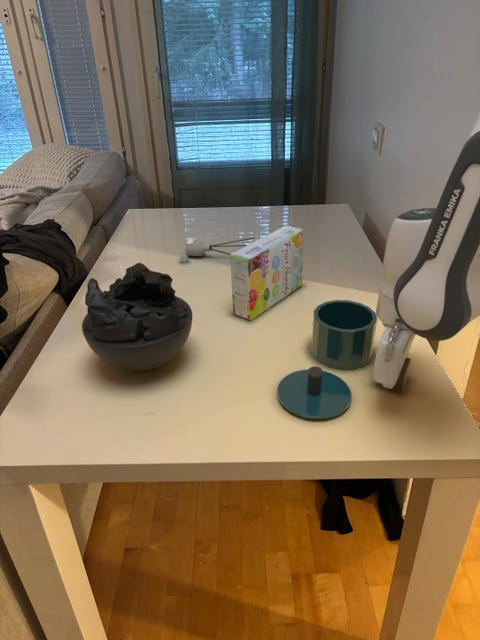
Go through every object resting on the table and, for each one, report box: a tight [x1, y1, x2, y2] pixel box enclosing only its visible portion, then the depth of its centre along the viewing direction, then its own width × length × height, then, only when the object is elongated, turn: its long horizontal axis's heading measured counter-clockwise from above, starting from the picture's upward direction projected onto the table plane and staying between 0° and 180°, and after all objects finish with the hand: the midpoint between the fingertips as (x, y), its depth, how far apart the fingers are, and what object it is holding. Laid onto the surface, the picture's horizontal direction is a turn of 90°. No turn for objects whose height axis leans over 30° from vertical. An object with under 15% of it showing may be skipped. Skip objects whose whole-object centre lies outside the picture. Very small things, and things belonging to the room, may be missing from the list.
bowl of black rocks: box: [81, 262, 193, 372], centre depth 86 cm, size 20×20×19 cm
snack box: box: [229, 225, 304, 321], centre depth 107 cm, size 21×6×15 cm, turn 141°
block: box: [375, 356, 412, 394], centre depth 82 cm, size 4×4×4 cm
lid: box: [276, 366, 352, 420], centre depth 79 cm, size 13×13×6 cm
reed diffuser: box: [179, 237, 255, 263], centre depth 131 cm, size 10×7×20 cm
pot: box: [310, 299, 378, 371], centre depth 90 cm, size 12×12×8 cm
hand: (392, 374), depth 83 cm, fingers open, 5 cm apart
